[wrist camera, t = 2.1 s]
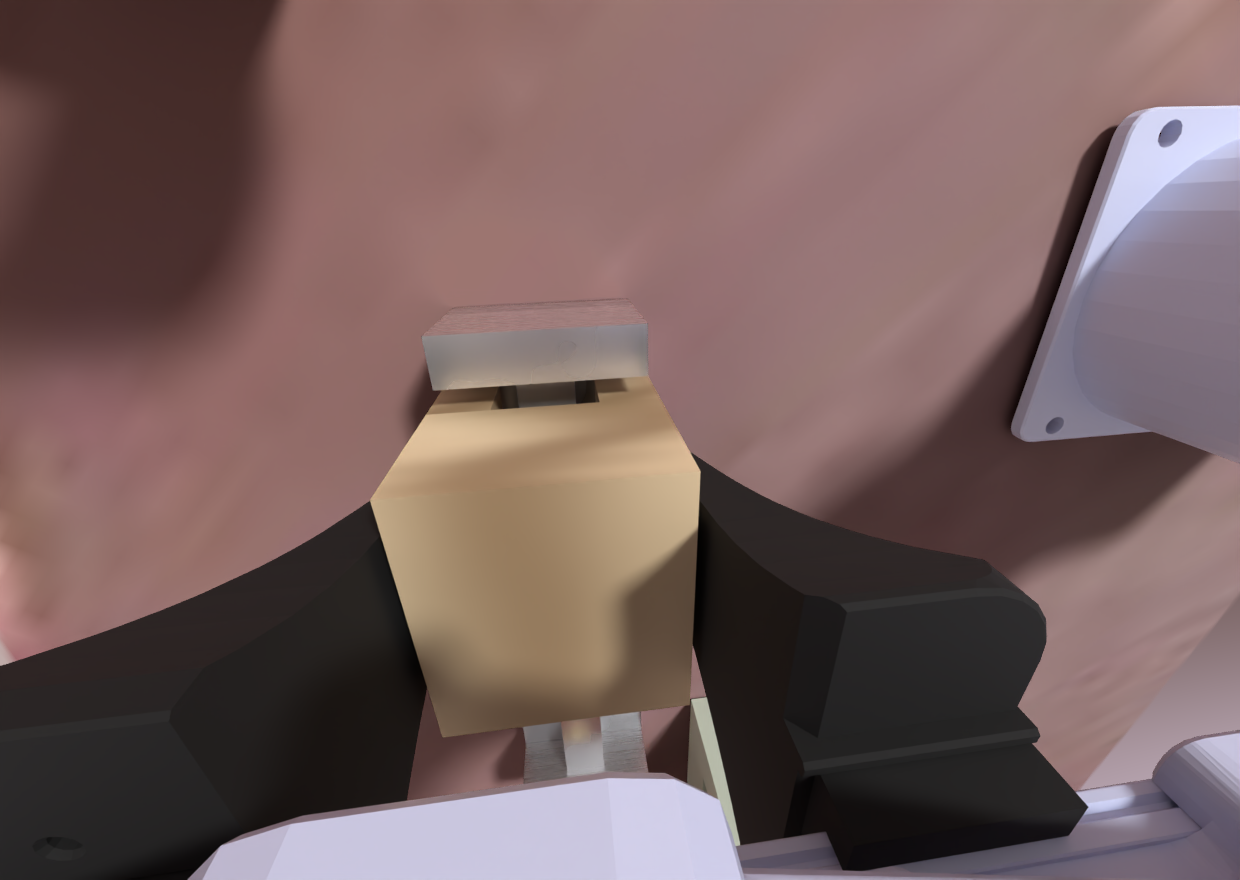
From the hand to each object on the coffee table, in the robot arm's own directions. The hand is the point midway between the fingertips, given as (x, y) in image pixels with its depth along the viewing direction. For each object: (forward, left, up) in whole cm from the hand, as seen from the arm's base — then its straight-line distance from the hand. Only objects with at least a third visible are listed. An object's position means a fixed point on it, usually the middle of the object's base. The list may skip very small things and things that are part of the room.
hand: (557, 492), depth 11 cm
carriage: (0, 0, -1) cm, 1 cm away
